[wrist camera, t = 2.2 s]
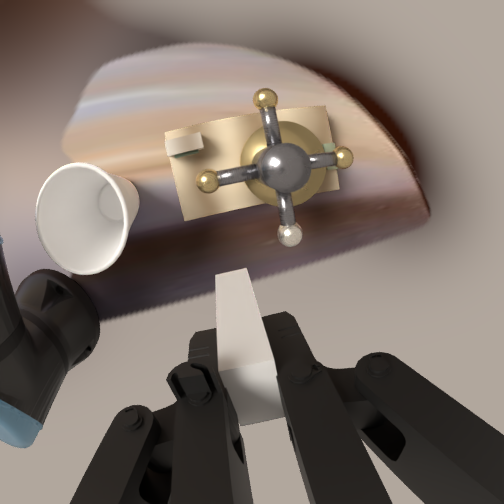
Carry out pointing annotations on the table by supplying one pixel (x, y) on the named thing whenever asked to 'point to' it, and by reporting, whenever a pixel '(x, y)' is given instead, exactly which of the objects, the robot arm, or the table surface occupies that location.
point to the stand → (232, 158)
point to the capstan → (279, 166)
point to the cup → (85, 217)
